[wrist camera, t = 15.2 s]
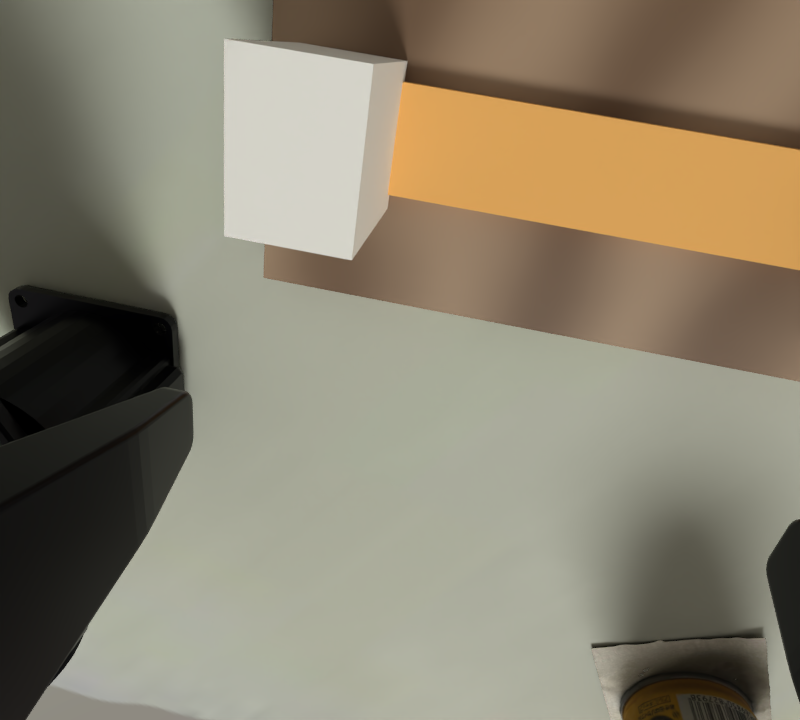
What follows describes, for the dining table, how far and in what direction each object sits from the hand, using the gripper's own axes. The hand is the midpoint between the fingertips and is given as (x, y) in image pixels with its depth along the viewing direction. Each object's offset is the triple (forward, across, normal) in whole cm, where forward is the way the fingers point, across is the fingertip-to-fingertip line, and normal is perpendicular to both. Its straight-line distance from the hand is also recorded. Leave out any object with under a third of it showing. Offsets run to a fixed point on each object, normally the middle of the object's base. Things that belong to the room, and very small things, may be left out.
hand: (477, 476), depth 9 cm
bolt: (+10, -2, -3) cm, 11 cm away
